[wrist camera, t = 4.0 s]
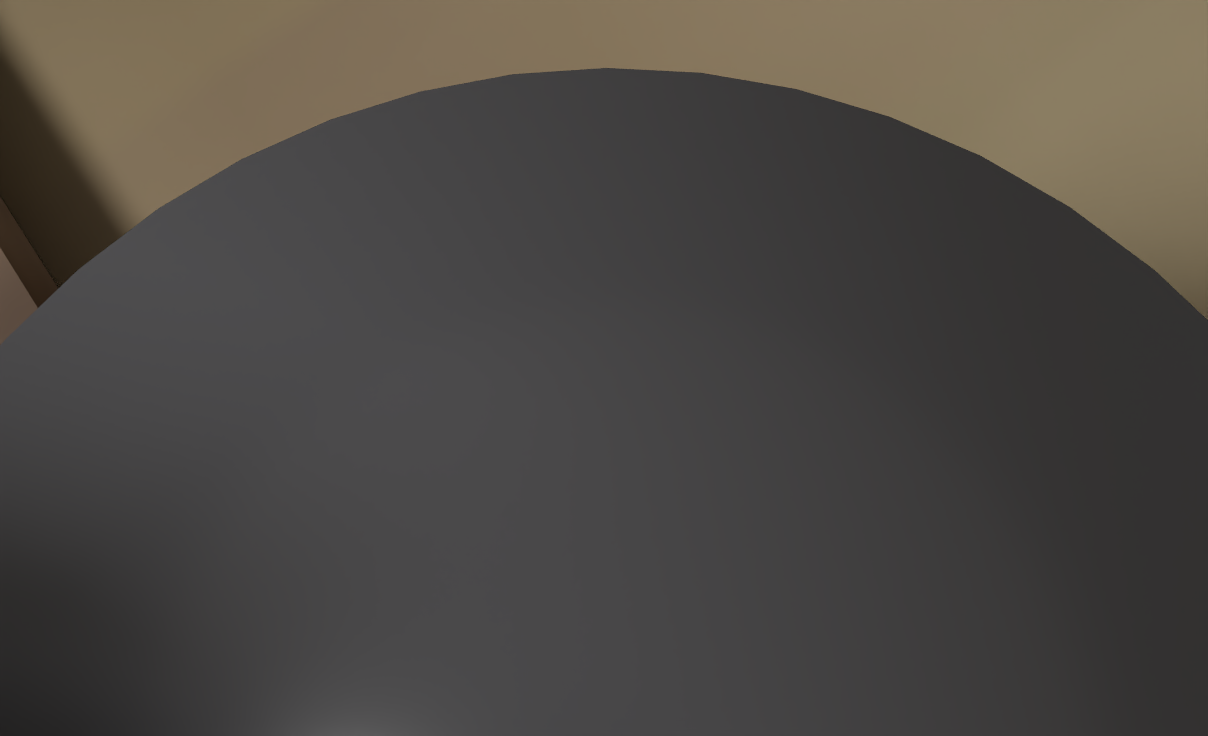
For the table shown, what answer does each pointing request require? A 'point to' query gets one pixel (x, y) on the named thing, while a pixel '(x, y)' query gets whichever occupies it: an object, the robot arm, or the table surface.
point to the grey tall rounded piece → (607, 438)
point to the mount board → (19, 276)
